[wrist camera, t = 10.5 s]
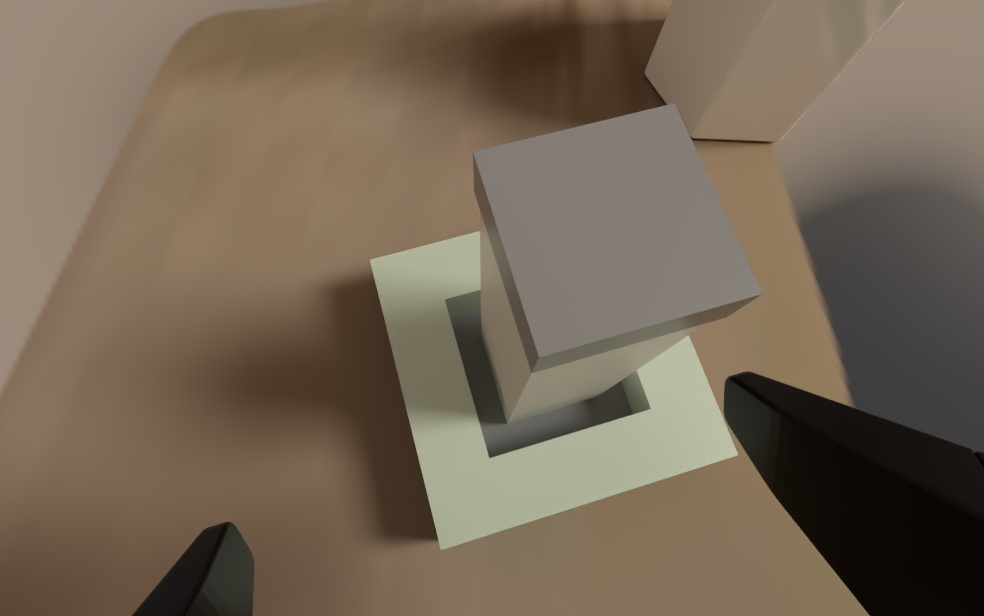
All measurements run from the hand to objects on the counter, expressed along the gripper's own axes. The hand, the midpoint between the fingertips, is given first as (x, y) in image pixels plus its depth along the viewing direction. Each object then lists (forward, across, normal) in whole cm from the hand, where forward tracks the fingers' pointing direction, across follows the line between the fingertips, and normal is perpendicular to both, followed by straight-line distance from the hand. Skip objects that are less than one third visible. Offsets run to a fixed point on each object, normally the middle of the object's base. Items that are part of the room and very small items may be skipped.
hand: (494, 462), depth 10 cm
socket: (+12, -3, +7) cm, 14 cm away
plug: (+12, -3, +7) cm, 14 cm away
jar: (+21, -18, -1) cm, 27 cm away
